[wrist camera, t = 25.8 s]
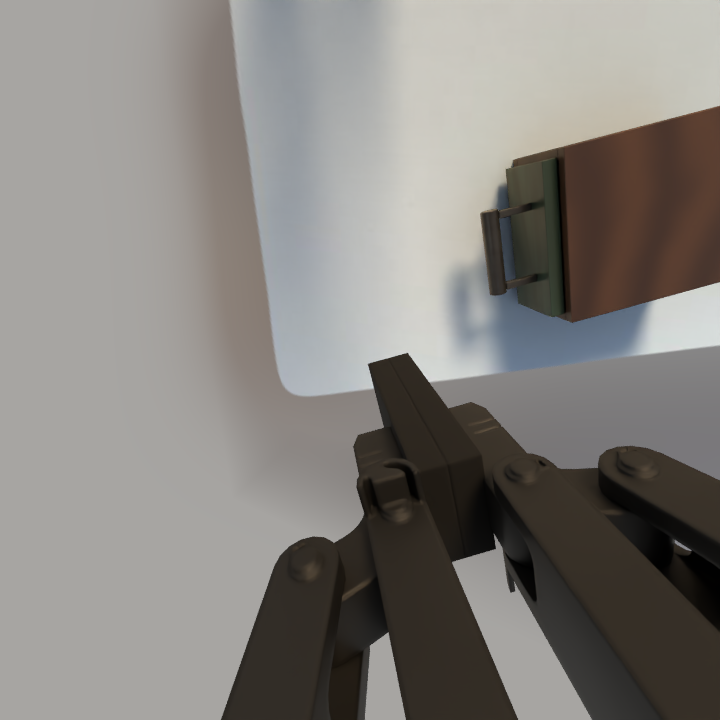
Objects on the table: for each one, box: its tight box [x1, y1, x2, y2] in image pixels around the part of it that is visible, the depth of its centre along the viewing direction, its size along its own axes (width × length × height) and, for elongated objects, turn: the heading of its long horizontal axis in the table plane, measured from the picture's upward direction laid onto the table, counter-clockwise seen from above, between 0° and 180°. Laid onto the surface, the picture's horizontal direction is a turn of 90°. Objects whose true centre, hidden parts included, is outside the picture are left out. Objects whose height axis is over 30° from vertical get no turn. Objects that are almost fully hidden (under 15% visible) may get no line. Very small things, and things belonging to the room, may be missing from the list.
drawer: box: [480, 158, 565, 317], centre depth 35 cm, size 18×12×6 cm
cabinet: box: [513, 106, 720, 323], centre depth 35 cm, size 15×14×8 cm
